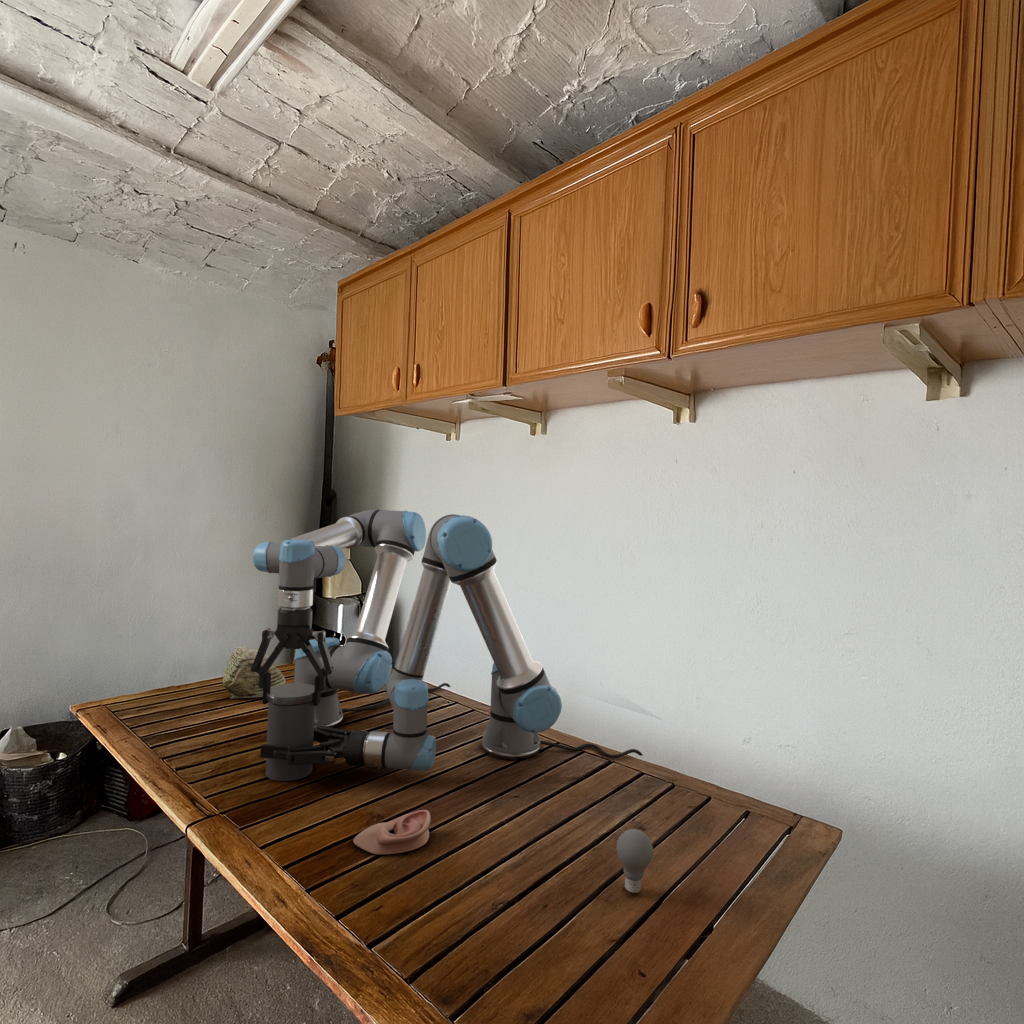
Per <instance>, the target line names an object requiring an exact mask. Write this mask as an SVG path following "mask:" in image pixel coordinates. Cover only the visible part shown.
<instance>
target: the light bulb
mask: <svg viewBox="0 0 1024 1024" xmlns="http://www.w3.org/2000/svg"><path fill="white" fill-rule="evenodd" d="M615 849H616V854H617V857H618V859H619V861H620V863H621V865H622V867H623V873H624V874H623V875H624V876H625V878H624V888H625V890H627V891H628V892H630V893H634V894H635V893H639V892H640V891H641V889H642V887H641V886H642V879H643V877H644V875H645V871H646V868H647V867H648V866H649V864H650V863H651V861H652V859H653V855H654V847H653V843H652V841H651V838H649V836H648V835H647V834H646V833H645V832H643V831H642V830H641V829H636V828H629V829H627V830H625V831H623V832H622V833H621V834H620V835H619V837H618V839H617V841H616V847H615Z"/></svg>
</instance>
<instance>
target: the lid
mask: <svg viewBox="0 0 1024 1024" xmlns="http://www.w3.org/2000/svg"><path fill="white" fill-rule="evenodd" d="M314 687H315V686H313V685H310V684H304V683H294V682H291V683H290V682H289V683H286V684H282V685H277V686H274V687H271V688H269V689H268V690H267V699H266V700H267V701H268V702H270V703H273V704H278V705H297V704H303V703H307V702H310V701H312V700H314Z"/></svg>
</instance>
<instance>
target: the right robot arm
mask: <svg viewBox="0 0 1024 1024" xmlns="http://www.w3.org/2000/svg"><path fill="white" fill-rule="evenodd" d="M427 535H428V536H427V538H426V542H425V546H424V550H423V554H422V559H421V565H422V567H423V570H422V573H421V576H420V580H419V584H418V586H417V590H416V593H415V597H414V600H413V604H412V607H411V610H410V613H409V617H408V620H407V622H406V626H405V631H404V633H403V637H402V640H401V643H400V645H399V646H400V647H399V650H398V653H397V657H396V660H395V664H394V667H393V671H392V672H391V674H390V676H389V678H388V680H387V682H386V684H385V692H386V697H387V699H388V698H389V702H390V706H391V708H392V711H393V723H392V725H393V727H392V732H388V731H374V730H373V731H370V732H369V731H368V730H359V729H358V730H357V729H355V730H347V729H339V728H336V727H335V728H331V727H326V726H321V725H318V726H317V728H314V739H313V743H314V742H316V743H319V744H315V745H313V746H307V747H299V748H292V747H291V745H290V746H279V745H267V743H266V744H263V743H261V744H260V753H259V754H260V755H259V758H261V759H266V758H271V759H284V760H287V765H307V764H313V765H330V766H331V765H335V760H337V759H345V761H346V764H347V766H353V767H364V766H366V767H370V768H376V770H380V769H381V768H382V769H394V770H395V769H396V770H404V771H405V770H406V771H410V772H413V771H420V772H421V771H423V772H424V771H430V770H431V769H432V768H433V767H434V763H435V760H436V754H437V739H436V737H435V736H434V735H430V734H428V730H427V729H428V728H427V726H428V725H427V724H428V709H429V708H428V705H429V699H430V697H429V691H428V689H429V686H428V684H427V682H426V681H423V680H424V676H425V672H426V668H427V666H428V663H429V658H430V656H431V652H432V649H433V645H434V642H435V639H436V635H437V632H438V629H439V626H440V622H441V619H442V616H443V612H444V609H445V605H446V603H447V598H448V596H449V592H450V589H451V585H452V584H455V585H457V586H459V587H460V589H461V590H462V593H463V596H464V598H465V601H466V603H467V605H468V607H469V609H470V611H471V614H472V616H473V618H474V620H475V623H476V626H477V627H478V630H479V632H480V634H481V636H482V638H483V641H484V643H485V645H486V647H487V650H488V652H489V654H490V656H491V659H492V661H493V663H492V669H491V672H490V675H491V686H490V713H489V720H488V722H487V725H486V728H485V730H484V733H483V736H482V740H481V749H482V750H483V752H484V753H486V754H487V755H489V756H491V757H494V758H498V759H504V760H526V759H529V758H532V757H535V756H537V755H538V754H539V753H540V752H541V745H545V746H549V747H554V748H558V749H562V750H566V751H570V752H576V751H580V750H583V749H584V748H593V749H595V750H596V751H598V752H599V753H600V754H601V755H603V756H604V757H606V758H609V759H619V758H623V757H625V756H628V755H630V754H632V753H633V754H634V753H635V754H636V755H638V756H640V757H643V756H644V754H643V753H642V752H641V751H640V750H638V749H636V748H631V749H627V750H625V751H623V752H621V753H617V754H613V753H612V754H611V753H607V752H606V751H605V750H603V749H602V748H601V747H600V746H599V745H596V744H594V743H583V744H580V745H578V746H574V747H572V746H566V745H563V744H559V743H555V742H550V741H546V740H541V738H540V734H539V733H543V732H546V731H548V730H549V729H550V728H552V726H554V725H555V724H556V723H557V722H558V720H559V717H560V715H561V714H562V713H561V712H562V707H563V703H562V699H561V695H560V693H559V692H558V691H557V689H556V688H555V687H553V686H552V685H551V683H550V680H549V679H548V676H547V673H546V671H545V669H544V667H543V664H542V663H541V662H539V661H537V660H535V659H533V657H532V655H531V652H530V651H529V648H528V646H527V643H526V641H525V639H524V637H523V635H522V632H521V629H520V627H519V625H518V622H517V620H516V618H515V616H514V613H513V611H512V609H511V607H510V604H509V602H508V600H507V599H508V598H507V597H506V595H505V592H504V590H503V588H502V586H501V583H500V581H499V578H498V576H497V574H496V572H495V569H496V567H497V564H498V560H497V557H496V555H495V553H494V551H493V539H492V535H491V533H490V531H489V529H488V528H487V526H486V525H485V524H483V523H482V522H481V521H480V520H479V519H478V518H475V517H473V516H470V515H462V514H461V515H460V514H454V513H453V514H447V515H444V516H441V517H440V518H438V519H437V520H436V521H435V522H434V523H433V524H432V526H431V528H430V529H429V532H428V534H427ZM322 730H323V731H322Z"/></svg>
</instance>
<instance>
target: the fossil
mask: <svg viewBox="0 0 1024 1024" xmlns="http://www.w3.org/2000/svg"><path fill="white" fill-rule="evenodd" d="M258 649H259V647H258V648H251V647H247V646H246V647H245V646H238V647H237V648H236V649H235V650H233V651H232V653H231V656H230V657H229V659H228V660H227V663H226V666H225V668H224V671H223V675H222V676H223V677H222V685H223V687H224V688H225V690H226V691H228V693H229V698H230V699H250V698H263V689H260V688H259V674H258V673H256V672H252V671H251V667H252V665H253V662H254V660H255V657H256V654H257V652H258ZM269 656H270V655H268V654H267V652H266V653H265V656H264V658H263V661H262V664H261V666H263V665H264V664H265V662H266V661H267V659H268V658H269ZM267 673H271V687H274V686H277V685H282V684H287V680H286V678H285V676H284V674H283V673H282V672H281V669H279V668H278V667H277V665H276V663H275V662H274V663H273V664H272V665H271V667H270V668H269V670H268V671H267Z"/></svg>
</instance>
